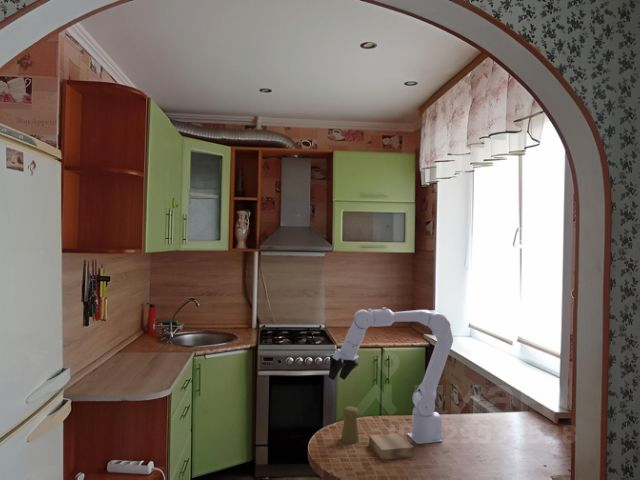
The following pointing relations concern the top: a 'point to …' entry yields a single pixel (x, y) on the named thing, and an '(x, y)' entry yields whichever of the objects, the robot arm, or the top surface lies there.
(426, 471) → the top surface
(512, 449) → the top surface
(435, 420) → the robot arm
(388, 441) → the walnut block
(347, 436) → the cork
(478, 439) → the top surface
